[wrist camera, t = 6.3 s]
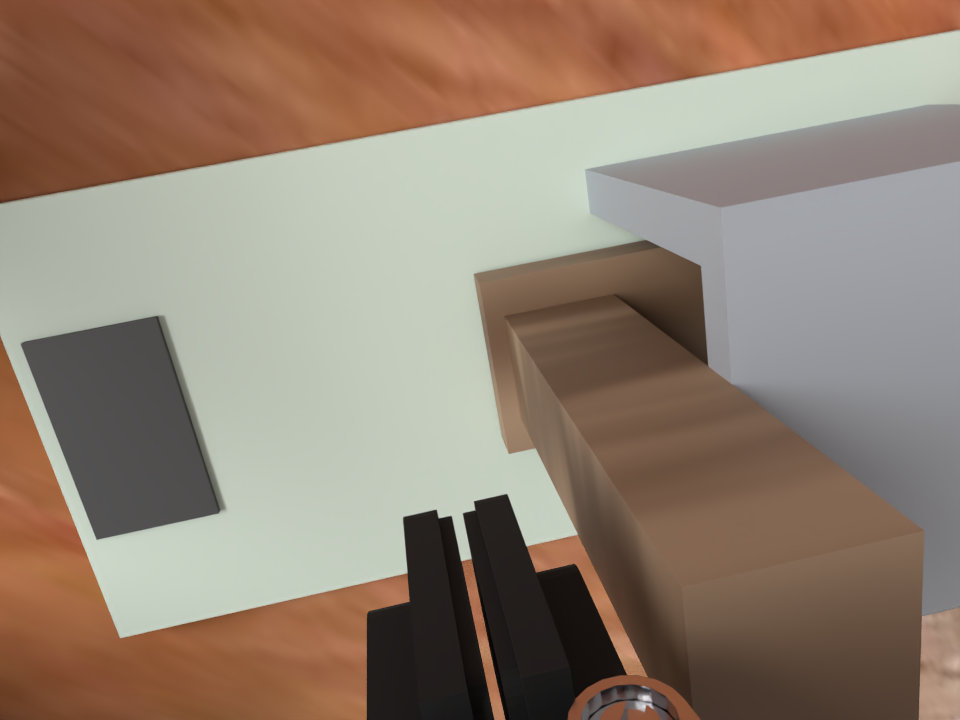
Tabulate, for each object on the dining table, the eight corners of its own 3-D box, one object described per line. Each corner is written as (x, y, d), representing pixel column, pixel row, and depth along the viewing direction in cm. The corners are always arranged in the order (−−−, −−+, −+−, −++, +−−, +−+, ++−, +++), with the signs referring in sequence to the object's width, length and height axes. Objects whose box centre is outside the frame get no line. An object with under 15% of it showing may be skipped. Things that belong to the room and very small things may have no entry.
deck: (-29, 208, 20) (-53, 214, 19) (1128, -1, 22) (1169, -7, 21) (129, 617, 24) (118, 642, 23) (1086, 402, 27) (1118, 416, 26)
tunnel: (584, 169, 21) (720, 207, 13) (928, 104, 22) (1258, 102, 14) (621, 473, 24) (748, 658, 16) (920, 408, 25) (1184, 552, 17)
